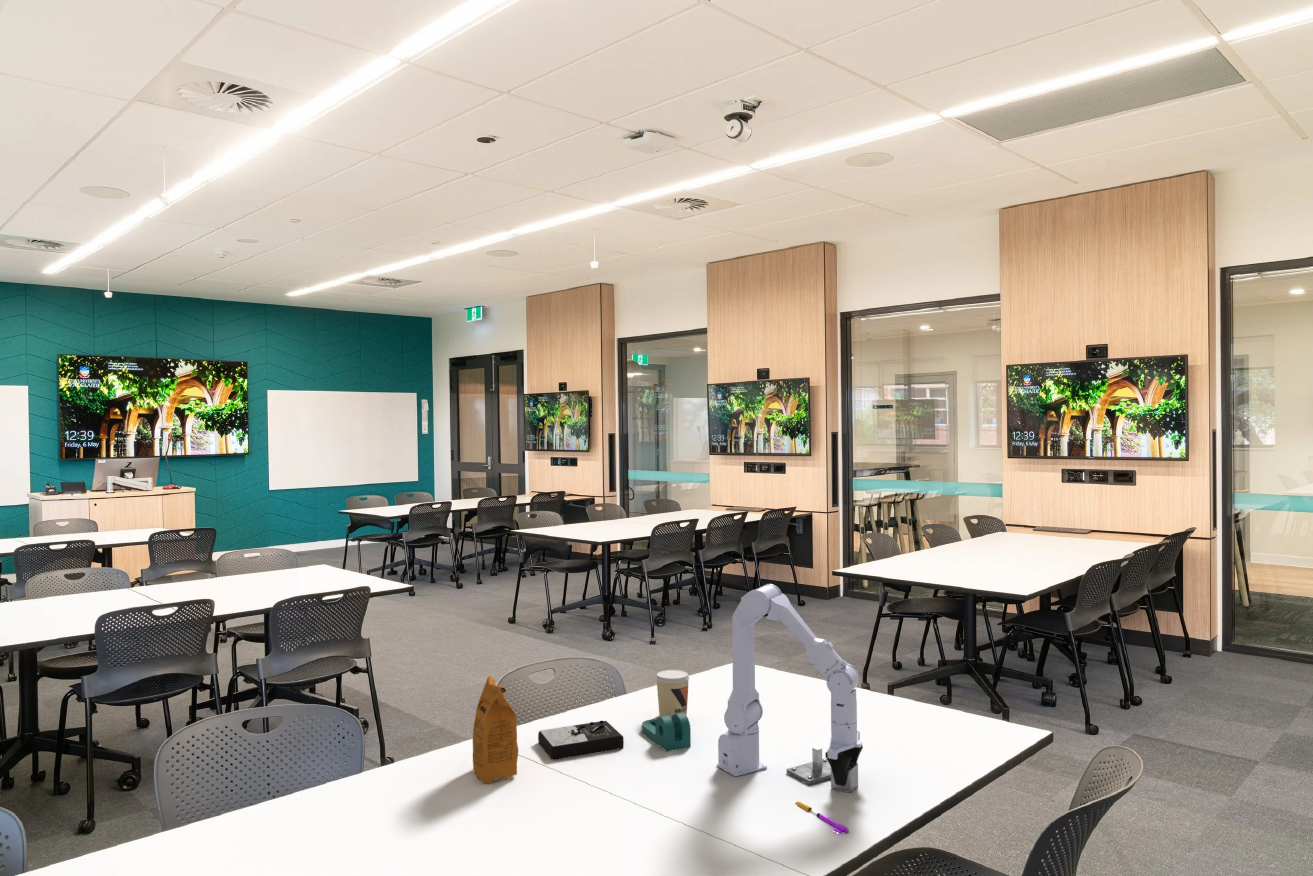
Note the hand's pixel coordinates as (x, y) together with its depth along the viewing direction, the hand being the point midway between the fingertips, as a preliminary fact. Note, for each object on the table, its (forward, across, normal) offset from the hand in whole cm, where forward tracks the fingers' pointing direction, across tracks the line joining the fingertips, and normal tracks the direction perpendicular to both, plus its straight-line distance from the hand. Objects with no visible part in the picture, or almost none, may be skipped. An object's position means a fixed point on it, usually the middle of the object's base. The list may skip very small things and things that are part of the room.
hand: (844, 780), depth 189 cm
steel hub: (+1, 0, 0) cm, 1 cm away
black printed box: (+2, -12, +67) cm, 68 cm away
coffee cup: (+2, +20, +59) cm, 62 cm away
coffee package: (+2, -37, +73) cm, 82 cm away
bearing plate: (+1, +4, +8) cm, 9 cm away
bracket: (+2, +4, +52) cm, 52 cm away
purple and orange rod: (+2, -18, -1) cm, 18 cm away
